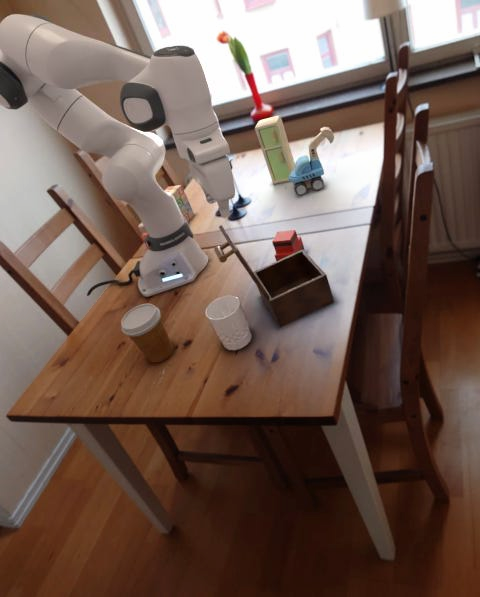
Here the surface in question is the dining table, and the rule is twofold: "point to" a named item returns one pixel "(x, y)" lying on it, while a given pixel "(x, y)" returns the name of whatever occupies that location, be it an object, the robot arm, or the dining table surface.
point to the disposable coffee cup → (147, 331)
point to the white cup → (229, 322)
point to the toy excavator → (310, 166)
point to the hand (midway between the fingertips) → (218, 208)
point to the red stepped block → (287, 244)
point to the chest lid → (223, 258)
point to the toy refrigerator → (275, 148)
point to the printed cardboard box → (181, 201)
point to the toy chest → (294, 287)
